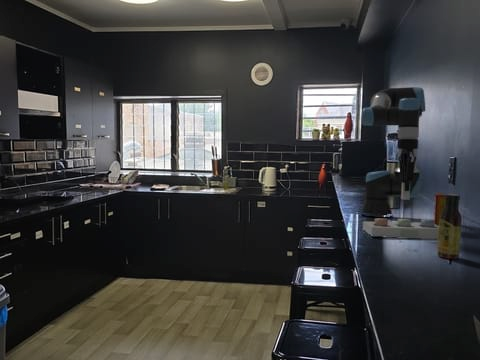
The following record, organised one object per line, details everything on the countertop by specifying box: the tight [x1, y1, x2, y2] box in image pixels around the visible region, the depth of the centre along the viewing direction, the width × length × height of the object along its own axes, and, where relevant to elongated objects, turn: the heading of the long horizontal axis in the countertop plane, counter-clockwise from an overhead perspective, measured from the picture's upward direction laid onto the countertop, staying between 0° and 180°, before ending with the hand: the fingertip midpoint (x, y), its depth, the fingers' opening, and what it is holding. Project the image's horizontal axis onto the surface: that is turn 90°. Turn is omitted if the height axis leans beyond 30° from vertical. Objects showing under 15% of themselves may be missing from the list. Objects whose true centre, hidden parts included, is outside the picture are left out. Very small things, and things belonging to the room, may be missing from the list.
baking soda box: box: [433, 192, 447, 226], centre depth 184 cm, size 10×6×16 cm
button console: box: [362, 220, 439, 240], centre depth 174 cm, size 15×28×4 cm, turn 88°
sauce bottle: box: [437, 193, 463, 260], centre depth 136 cm, size 6×6×20 cm
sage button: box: [397, 218, 412, 227], centre depth 172 cm, size 5×5×3 cm
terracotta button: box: [373, 218, 389, 226], centre depth 172 cm, size 5×5×3 cm
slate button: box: [420, 218, 435, 228], centre depth 172 cm, size 5×5×3 cm
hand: (405, 199), depth 171 cm, fingers closed
